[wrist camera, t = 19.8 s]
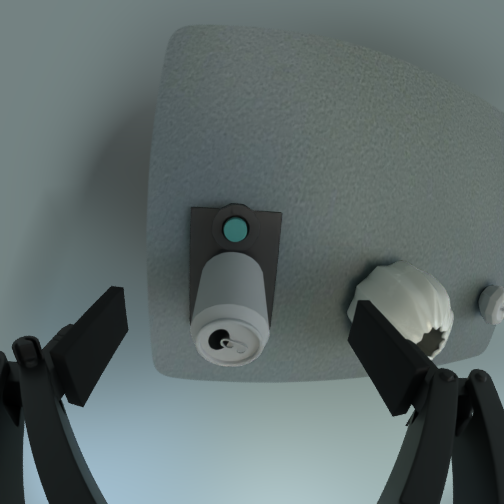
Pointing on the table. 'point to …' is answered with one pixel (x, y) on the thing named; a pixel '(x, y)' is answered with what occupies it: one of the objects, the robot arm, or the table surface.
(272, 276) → the scale
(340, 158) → the table surface
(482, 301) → the apple
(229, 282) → the can
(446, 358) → the table surface
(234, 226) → the button
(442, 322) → the vase
